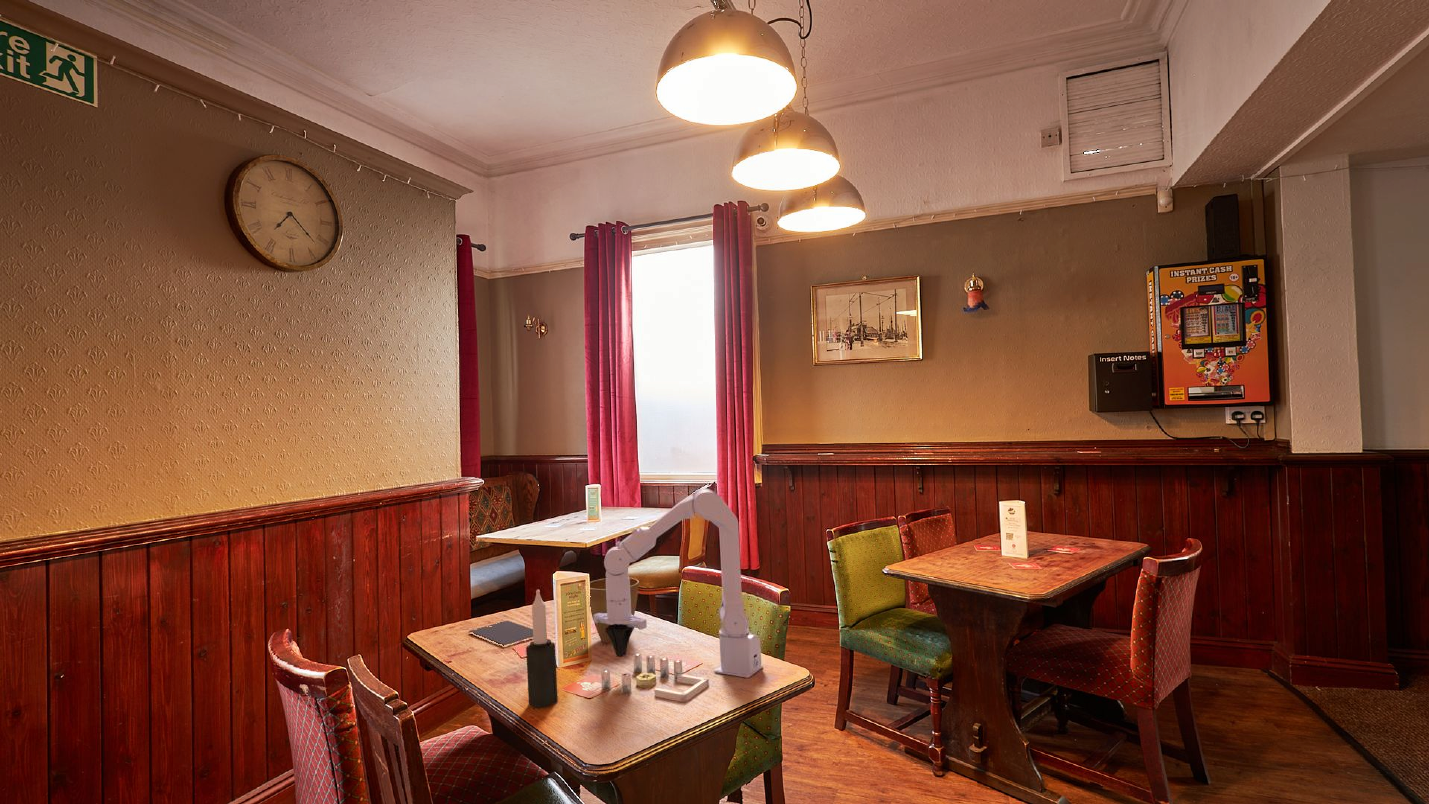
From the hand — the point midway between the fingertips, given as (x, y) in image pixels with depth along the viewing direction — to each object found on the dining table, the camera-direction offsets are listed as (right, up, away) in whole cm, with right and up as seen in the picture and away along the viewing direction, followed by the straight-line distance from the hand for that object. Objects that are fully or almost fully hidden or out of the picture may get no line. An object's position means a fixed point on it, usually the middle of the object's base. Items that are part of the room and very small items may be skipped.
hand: (621, 655), depth 165 cm
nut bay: (+15, -5, -9) cm, 18 cm away
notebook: (-40, -9, +40) cm, 57 cm away
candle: (-16, -7, -11) cm, 20 cm away
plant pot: (-6, -7, +30) cm, 32 cm away
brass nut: (+6, -5, -4) cm, 9 cm away
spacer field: (+6, -5, -3) cm, 8 cm away
